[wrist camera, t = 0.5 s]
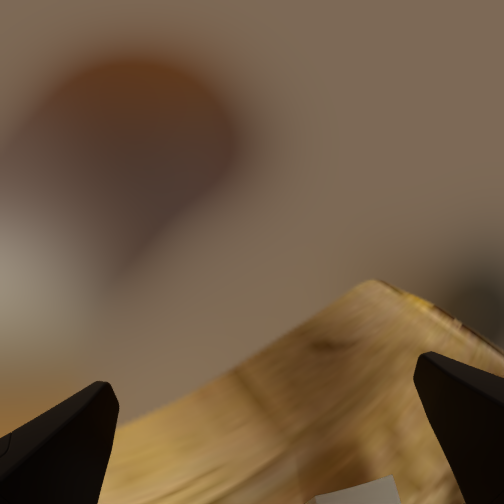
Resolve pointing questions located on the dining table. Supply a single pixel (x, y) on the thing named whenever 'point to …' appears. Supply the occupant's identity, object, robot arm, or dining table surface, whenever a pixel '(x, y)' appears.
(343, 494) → the pale grey cube
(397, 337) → the dining table surface
